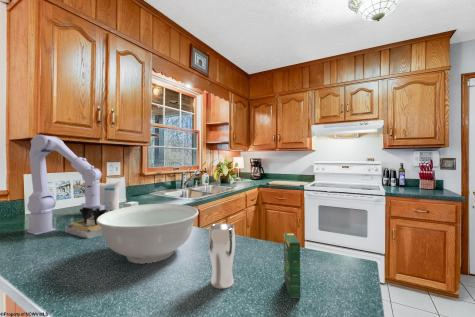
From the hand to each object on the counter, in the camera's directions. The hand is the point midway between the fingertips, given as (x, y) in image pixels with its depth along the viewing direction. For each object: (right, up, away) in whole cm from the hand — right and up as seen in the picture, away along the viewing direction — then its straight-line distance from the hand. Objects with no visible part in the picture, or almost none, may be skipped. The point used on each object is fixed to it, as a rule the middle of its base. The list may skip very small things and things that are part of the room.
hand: (92, 224), depth 111 cm
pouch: (-11, -3, +31) cm, 33 cm away
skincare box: (+15, -3, +5) cm, 17 cm away
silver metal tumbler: (+63, -3, -47) cm, 79 cm away
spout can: (0, -3, 0) cm, 3 cm away
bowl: (+37, -3, -28) cm, 46 cm away
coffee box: (+81, -3, -50) cm, 95 cm away
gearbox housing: (0, -3, 0) cm, 3 cm away
